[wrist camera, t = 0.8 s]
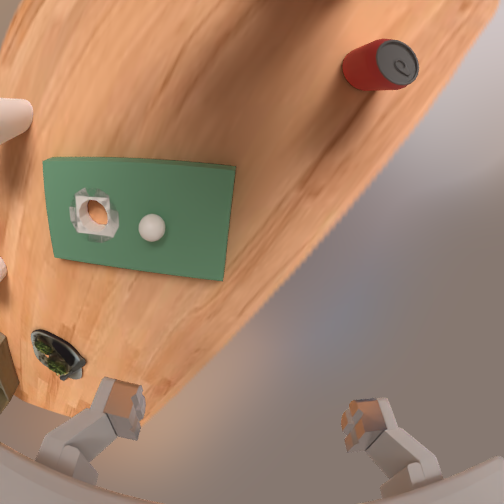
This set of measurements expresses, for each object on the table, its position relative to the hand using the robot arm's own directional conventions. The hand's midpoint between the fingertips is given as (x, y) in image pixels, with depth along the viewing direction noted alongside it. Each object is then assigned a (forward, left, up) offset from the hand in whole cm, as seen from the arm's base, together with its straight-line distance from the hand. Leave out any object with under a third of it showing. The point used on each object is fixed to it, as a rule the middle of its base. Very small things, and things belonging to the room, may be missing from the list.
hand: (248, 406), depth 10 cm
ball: (+8, -13, -32) cm, 35 cm away
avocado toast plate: (+50, -45, -38) cm, 77 cm away
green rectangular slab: (+8, -18, -37) cm, 42 cm away
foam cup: (-9, -42, -37) cm, 57 cm away
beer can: (-19, +14, -37) cm, 44 cm away
